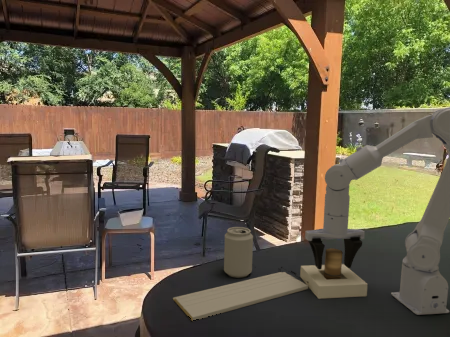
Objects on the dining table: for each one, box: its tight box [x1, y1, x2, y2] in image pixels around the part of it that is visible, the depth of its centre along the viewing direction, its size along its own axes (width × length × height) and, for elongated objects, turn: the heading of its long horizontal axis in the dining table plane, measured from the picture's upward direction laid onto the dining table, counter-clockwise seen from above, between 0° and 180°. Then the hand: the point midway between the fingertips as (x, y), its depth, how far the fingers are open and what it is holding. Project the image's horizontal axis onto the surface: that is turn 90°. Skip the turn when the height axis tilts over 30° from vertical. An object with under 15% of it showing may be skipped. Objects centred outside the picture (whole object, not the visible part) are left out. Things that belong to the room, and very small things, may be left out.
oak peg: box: [324, 247, 344, 280], centre depth 90 cm, size 4×4×9 cm
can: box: [223, 226, 254, 279], centre depth 96 cm, size 8×8×12 cm
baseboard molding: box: [172, 266, 309, 322], centre depth 86 cm, size 31×3×12 cm
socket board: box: [299, 263, 369, 300], centre depth 91 cm, size 12×12×3 cm
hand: (333, 267), depth 90 cm, fingers open, 7 cm apart
